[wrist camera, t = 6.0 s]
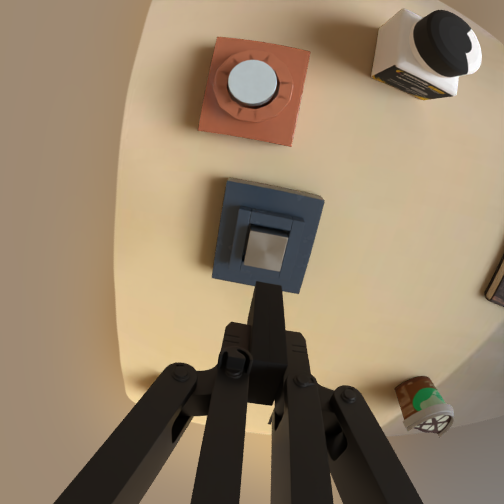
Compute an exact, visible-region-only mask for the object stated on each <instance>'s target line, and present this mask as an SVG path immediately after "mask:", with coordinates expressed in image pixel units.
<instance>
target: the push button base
mask: <svg viewBox="0 0 504 504" xmlns="http://www.w3.org/2000/svg"><path fill="white" fill-rule="evenodd" d="M323 205H324V199H323V198H322V197H321V196H319V195H314V194H310V193H306V192H301V191H297V190H292V189H287V188H282V187H278V186H273V185H268V184H263V183H258V182H252V181H247V180H242V179H236V178H229V179H228V180H227V183H226V189H225V195H224V201H223V207H222V213H221V219H220V225H219V232H218V238H217V245H216V252H215V258H214V265H213V272H212V278H215V279H220V280H225V281H230V282H235V283H241V284H246V285H251V286H255V284H256V281H259V282H264V283H270V284H275V285H281V286H282V291H285V292H290V293H296V294H299V292H300V288H301V285H302V282H303V278H304V275H305V271H306V268H307V264H308V261H309V257H310V254H311V250H312V247H313V243H314V239H315V236H316V232H317V228H318V225H319V221H320V217H321V213H322V209H323ZM251 225H253V226H258V227H264V228H269V229H274V230H279V231H284V232H287V235H288V241H287V245H286V249H285V253H284V257H283V261H282V265H281V269H280V272H279V271H273V270H268V269H263V268H257V267H252V266H247V265H244V260H245V254H246V249H247V244H248V239H249V234H250V229H251Z"/></svg>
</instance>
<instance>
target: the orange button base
mask: <svg viewBox="0 0 504 504" xmlns="http://www.w3.org/2000/svg"><path fill="white" fill-rule="evenodd" d="M309 57H310V51H305V50H301V49H297V48H292V47H287V46H282V45H277V44H271V43H265V42H259V41H252V40H244V39H236V38H226V37H217V40H216V44H215V49H214V53H213V57H212V62H211V66H210V71H209V75H208V80H207V85H206V90H205V95H204V100H203V105H202V110H201V116H200V121H199V127H198V131H204V132H211V133H218V134H225V135H231V136H237V137H243V138H249V139H255V140H260V141H265V142H270V143H275V144H280V145H285V146H290V147H291V146H292V141H293V137H294V132H295V127H296V122H297V117H298V112H299V107H300V103H301V98H302V93H303V88H304V83H305V77H306V72H307V67H308V62H309ZM246 60H259V61H262V62H264V63H266V64H268V65H269V66H270V67H271V68H272V69H273V70H274V72H275V74H276V78H277V86H276V90H275V93H274V95H273V97H272V98H271V99H270V100H269V101H268V102H266V103H264V104H262V105H259V106H248V105H245V104H242V103H240V102H239V101H238V100H237V99H236V98H235V97H234V96H233V95H232V93H231V92H230V89H229V86H228V77H229V74H230V72H231V71H232V69H233V68H234V67H235V66H236V65H237V64H239V63H241V62H243V61H246Z"/></svg>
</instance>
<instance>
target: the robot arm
mask: <svg viewBox="0 0 504 504" xmlns="http://www.w3.org/2000/svg"><path fill="white" fill-rule="evenodd" d="M306 347H307V346H306V340H305V338H304V337H303V335H302V334H301V333H299V332H293V331H286V330H285V318H284V306H283V295H282V286H281V285H275V284H270V283H264V282H259V281H256V284H255V289H254V293H253V298H252V302H251V307H250V311H249V316H248V322H247V325H246V324H241V323H235V322H230V323H229V324H228V325H227V326H226V329H225V333H224V338H223V343H222V348H221V352H220V354H219V358H218V364H217V365H216V366H215V367H214V368H212V369H209V370H205V371H196V370H195V369H194V367H192V366H190V365H189V364H185V363H173V364H170V365H169V366H167V367H166V368H165V369H164V371H163V372H162V373H161V374H160V376H159V377H158V378H157V379H156V380H155V382H154V383H153V384H152V385H151V387H150V388H149V389H148V390H147V391H146V393H145V394H144V395H143V396H142V397H141V399H140V400H139V401H138V402H137V404H136V405H135V406H134V407H133V408H132V410H131V411H130V412H129V413H128V415H127V416H126V417H125V418H124V419H123V421H122V422H121V423H120V424H119V426H118V427H117V428H116V429H115V430H114V431H113V433H112V434H111V435H110V436H109V438H108V439H107V440H106V441H105V442H104V444H103V445H102V446H101V447H100V448H99V450H98V451H97V452H96V453H95V454H94V456H93V457H92V458H91V459H90V461H89V462H88V463H87V464H86V465H85V467H84V468H83V469H82V470H81V471H80V472H79V474H78V475H77V476H76V477H75V478H74V480H73V481H72V482H71V483H70V484H69V486H68V487H67V488H66V489H65V490H64V492H63V493H62V494H61V495H60V496H59V498H58V499H57V500H56V501H55V502H54V504H139V503H140V501H141V499H142V498H143V496H144V495H145V493H146V492H147V490H148V489H149V487H150V486H151V484H152V483H153V481H154V479H155V478H156V476H157V475H158V473H159V472H160V470H161V469H162V467H163V465H164V464H165V462H166V461H167V459H168V457H169V456H170V454H171V452H172V451H173V449H174V448H175V446H176V445H177V443H178V441H179V440H180V438H181V436H182V435H183V433H184V432H185V430H186V428H187V427H188V425H189V423H190V422H191V420H192V418H193V416H205V415H207V420H206V425H205V431H204V436H203V441H202V446H201V451H200V457H199V462H198V467H197V472H196V477H195V483H194V489H193V493H192V499H191V504H239V498H240V487H241V474H242V463H243V449H244V438H245V425H246V413H247V402H248V403H255V404H263V405H271V406H272V405H273V402H274V400H275V408H274V410H273V412H272V415H271V417H270V419H269V422H268V424H271V422H272V456H271V459H272V461H271V504H333V495H332V486H331V477H330V473H331V475H332V478H333V480H334V482H335V485H336V487H337V490H338V492H339V495H340V497H341V499H342V502H343V504H423V502H422V500H421V499H420V497H419V495H418V493H417V491H416V489H415V488H414V486H413V484H412V482H411V480H410V479H409V477H408V475H407V473H406V471H405V469H404V468H403V466H402V464H401V462H400V461H399V459H398V457H397V455H396V454H395V452H394V450H393V448H392V446H391V445H390V443H389V441H388V439H387V438H386V436H385V434H384V432H383V431H382V429H381V427H380V425H379V424H378V422H377V420H376V418H375V417H374V415H373V413H372V411H371V410H370V408H369V406H368V405H367V403H366V401H365V399H364V398H363V396H362V394H361V393H360V392H359V391H358V390H357V389H355V388H354V387H351V386H344V385H343V386H340V387H338V388H337V389H336V390H335V391H334V390H331V389H328V388H325V387H323V386H321V385H319V384H318V383H317V381H316V378H315V377H314V376H313V375H312V374H311V372H310V365H309V359H308V354H307V348H306Z"/></svg>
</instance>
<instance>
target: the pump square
mask: <svg viewBox="0 0 504 504" xmlns="http://www.w3.org/2000/svg"><path fill="white" fill-rule="evenodd" d="M287 241H288V235H287V232H284V231H279V230H274V229H269V228H264V227H258V226H253V225H251V229H250V234H249V239H248V244H247V249H246V254H245V260H244V265H247V266H252V267H257V268H263V269H268V270H273V271H279V272H280V269H281V265H282V261H283V257H284V253H285V249H286V245H287Z"/></svg>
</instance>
